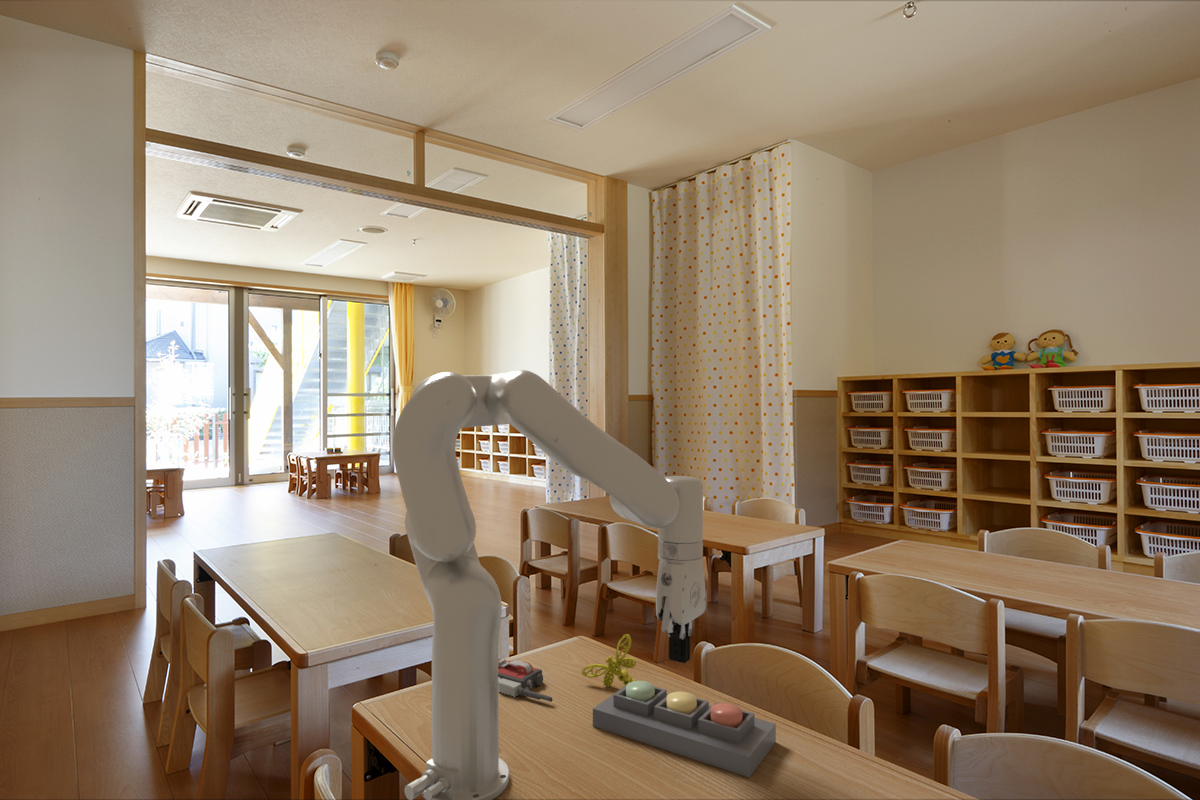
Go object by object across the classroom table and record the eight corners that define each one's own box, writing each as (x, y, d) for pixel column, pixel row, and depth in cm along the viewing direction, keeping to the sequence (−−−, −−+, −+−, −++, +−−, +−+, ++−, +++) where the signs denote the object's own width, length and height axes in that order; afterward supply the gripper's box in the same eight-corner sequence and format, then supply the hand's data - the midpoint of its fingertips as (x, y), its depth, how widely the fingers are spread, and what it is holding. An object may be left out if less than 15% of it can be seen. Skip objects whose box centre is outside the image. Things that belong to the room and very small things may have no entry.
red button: (735, 737, 98) (735, 720, 98) (705, 728, 101) (705, 712, 101) (747, 723, 102) (747, 708, 102) (718, 715, 105) (718, 700, 105)
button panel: (749, 777, 93) (749, 743, 93) (592, 726, 109) (592, 696, 109) (775, 742, 103) (775, 711, 103) (628, 699, 119) (628, 672, 119)
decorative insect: (611, 715, 123) (579, 672, 126) (616, 708, 126) (584, 666, 129) (659, 677, 120) (625, 634, 123) (663, 671, 123) (630, 628, 126)
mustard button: (688, 723, 103) (688, 707, 103) (661, 715, 106) (661, 700, 106) (701, 711, 107) (701, 696, 107) (675, 703, 110) (675, 689, 110)
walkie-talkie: (466, 685, 126) (548, 709, 116) (466, 663, 126) (548, 685, 116) (496, 670, 134) (575, 691, 123) (496, 649, 134) (575, 668, 123)
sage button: (645, 710, 107) (645, 695, 107) (620, 703, 110) (620, 688, 110) (659, 699, 111) (659, 685, 111) (635, 692, 114) (635, 678, 114)
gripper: (680, 561, 98) (679, 680, 98) (718, 545, 111) (718, 651, 110) (638, 555, 103) (637, 669, 102) (680, 540, 115) (679, 642, 115)
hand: (679, 659), depth 106 cm, fingers closed
